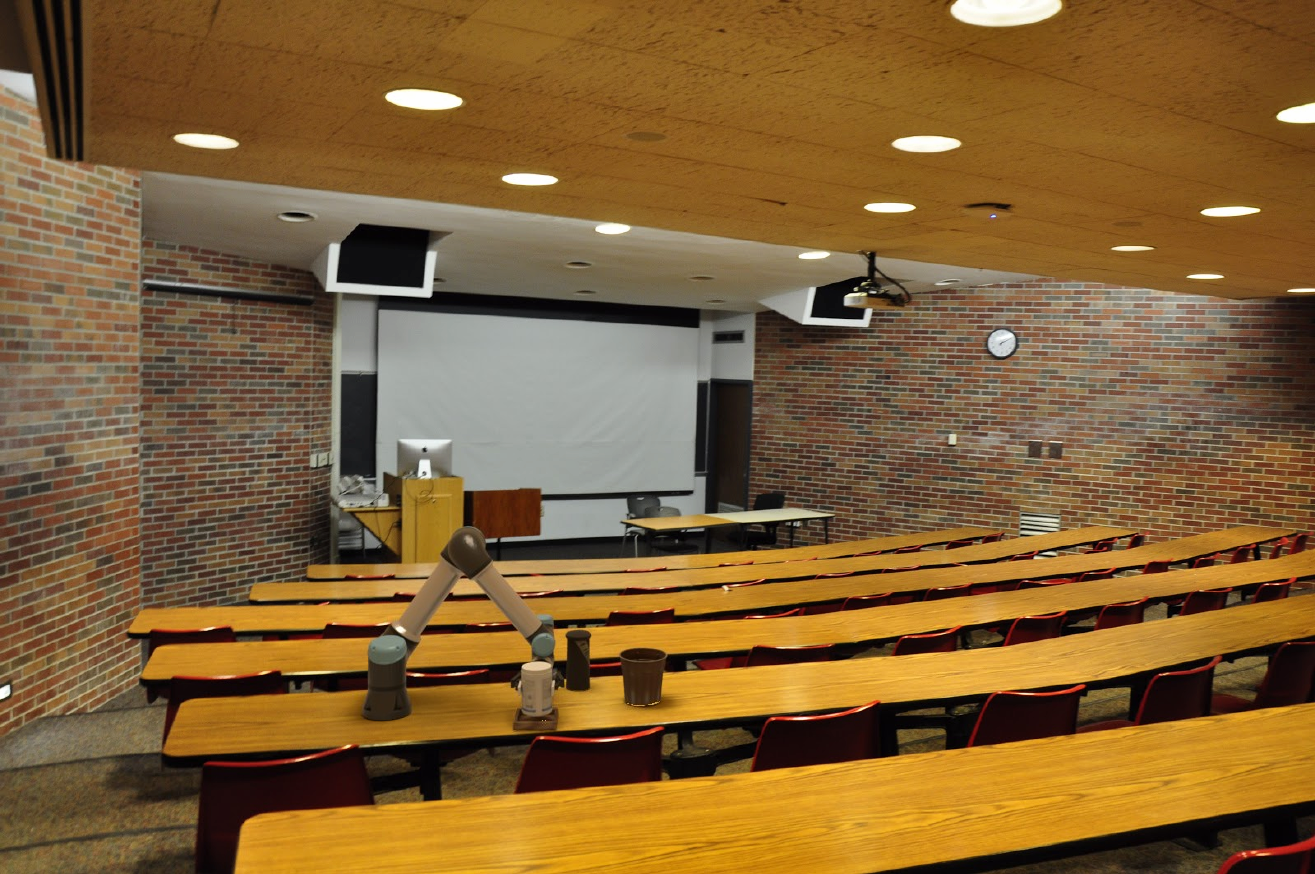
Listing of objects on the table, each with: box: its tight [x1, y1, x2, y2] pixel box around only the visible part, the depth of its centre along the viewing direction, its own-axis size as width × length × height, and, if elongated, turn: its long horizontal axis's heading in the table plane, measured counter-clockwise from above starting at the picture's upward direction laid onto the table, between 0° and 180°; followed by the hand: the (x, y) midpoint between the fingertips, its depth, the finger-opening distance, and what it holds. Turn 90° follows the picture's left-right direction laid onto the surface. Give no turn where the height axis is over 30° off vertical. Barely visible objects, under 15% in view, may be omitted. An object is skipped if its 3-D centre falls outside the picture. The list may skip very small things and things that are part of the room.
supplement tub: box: [520, 661, 554, 717], centre depth 288 cm, size 10×10×15 cm
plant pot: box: [618, 647, 668, 706], centre depth 310 cm, size 16×16×16 cm
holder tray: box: [512, 707, 559, 731], centre depth 288 cm, size 13×13×2 cm
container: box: [565, 629, 592, 691], centre depth 323 cm, size 9×9×20 cm
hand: (535, 691), depth 283 cm, fingers closed on supplement tub, 9 cm apart
